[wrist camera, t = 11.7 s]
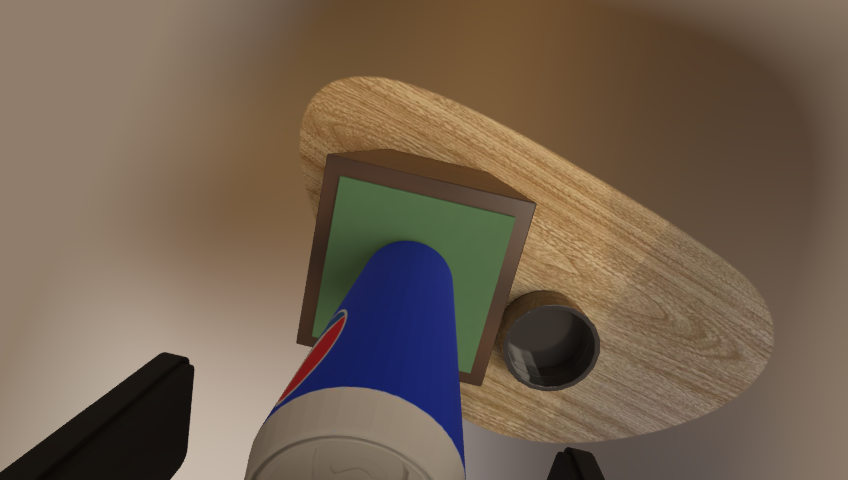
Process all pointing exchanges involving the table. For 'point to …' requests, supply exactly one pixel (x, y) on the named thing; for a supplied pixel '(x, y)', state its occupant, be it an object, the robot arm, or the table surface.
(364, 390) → the beverage can
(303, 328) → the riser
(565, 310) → the bowl
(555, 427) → the table surface
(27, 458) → the robot arm
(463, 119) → the table surface
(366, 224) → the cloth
